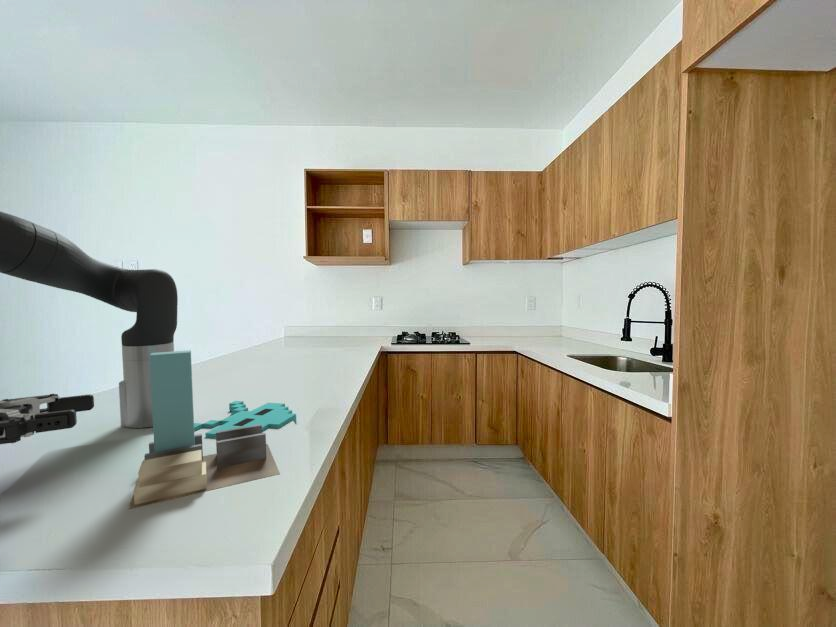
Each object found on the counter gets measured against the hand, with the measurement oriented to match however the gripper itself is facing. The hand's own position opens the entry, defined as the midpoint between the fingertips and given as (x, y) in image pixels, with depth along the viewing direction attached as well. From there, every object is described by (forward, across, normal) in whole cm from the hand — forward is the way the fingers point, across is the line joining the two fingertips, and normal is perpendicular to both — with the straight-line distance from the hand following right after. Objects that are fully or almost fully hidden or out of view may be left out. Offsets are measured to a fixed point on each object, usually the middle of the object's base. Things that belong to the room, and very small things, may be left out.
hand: (85, 409), depth 52 cm
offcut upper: (+10, -6, +9) cm, 15 cm away
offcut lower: (+10, -6, +11) cm, 16 cm away
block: (+10, 0, +11) cm, 15 cm away
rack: (+15, -3, +12) cm, 19 cm away
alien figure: (+22, +20, +13) cm, 32 cm away
